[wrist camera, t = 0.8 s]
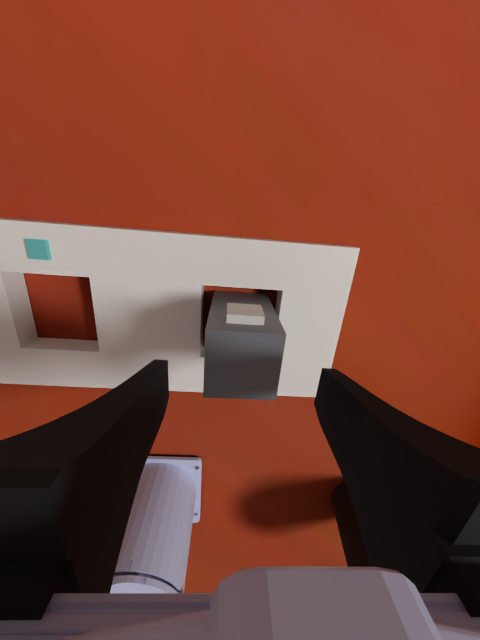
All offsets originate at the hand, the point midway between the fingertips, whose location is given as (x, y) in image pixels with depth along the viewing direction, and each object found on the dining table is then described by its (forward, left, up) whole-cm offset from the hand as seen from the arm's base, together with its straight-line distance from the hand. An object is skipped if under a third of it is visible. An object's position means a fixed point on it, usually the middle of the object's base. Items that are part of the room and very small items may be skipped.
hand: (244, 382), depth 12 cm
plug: (0, 0, -9) cm, 9 cm away
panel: (0, +7, -9) cm, 11 cm away
